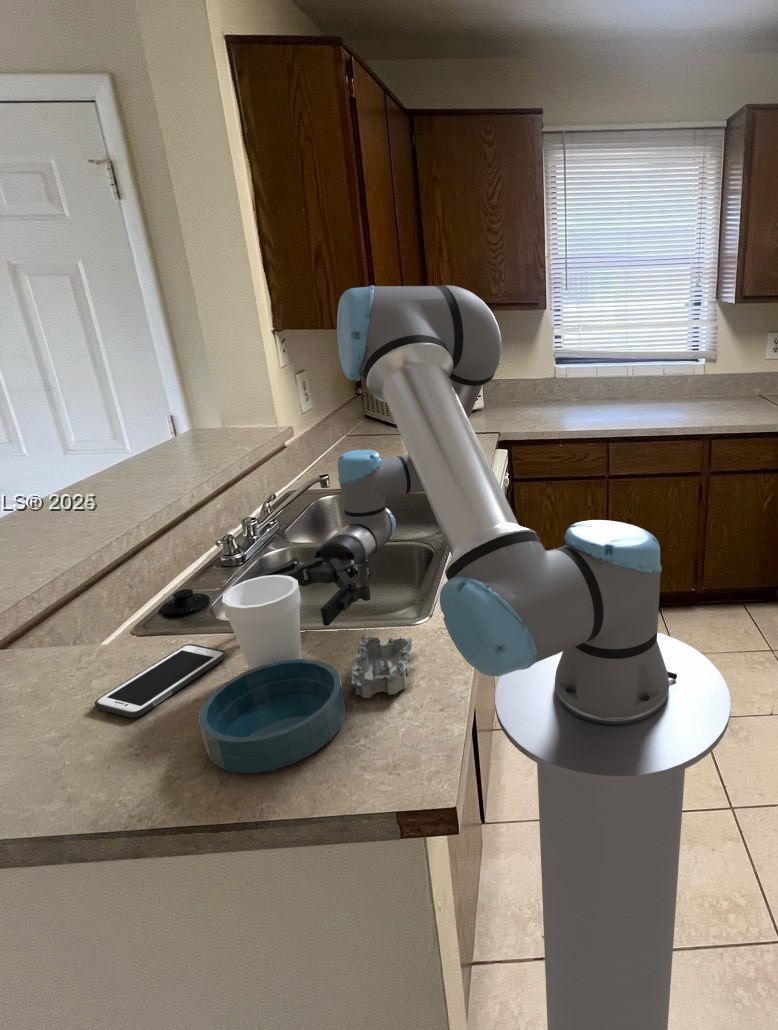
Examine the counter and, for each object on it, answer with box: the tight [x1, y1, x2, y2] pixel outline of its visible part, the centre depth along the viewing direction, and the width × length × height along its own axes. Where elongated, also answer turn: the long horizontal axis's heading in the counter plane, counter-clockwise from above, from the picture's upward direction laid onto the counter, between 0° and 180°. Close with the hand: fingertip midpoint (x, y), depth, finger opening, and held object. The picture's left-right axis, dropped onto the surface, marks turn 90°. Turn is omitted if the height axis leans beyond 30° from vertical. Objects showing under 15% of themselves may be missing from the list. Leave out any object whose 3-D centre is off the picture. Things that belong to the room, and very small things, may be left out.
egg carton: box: [351, 634, 413, 699], centre depth 86 cm, size 11×8×4 cm
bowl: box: [198, 658, 347, 774], centre depth 75 cm, size 16×16×5 cm
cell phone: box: [94, 643, 227, 719], centre depth 85 cm, size 8×15×1 cm, turn 163°
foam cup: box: [221, 575, 302, 670], centre depth 85 cm, size 10×9×13 cm
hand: (279, 615), depth 88 cm, fingers open, 13 cm apart
